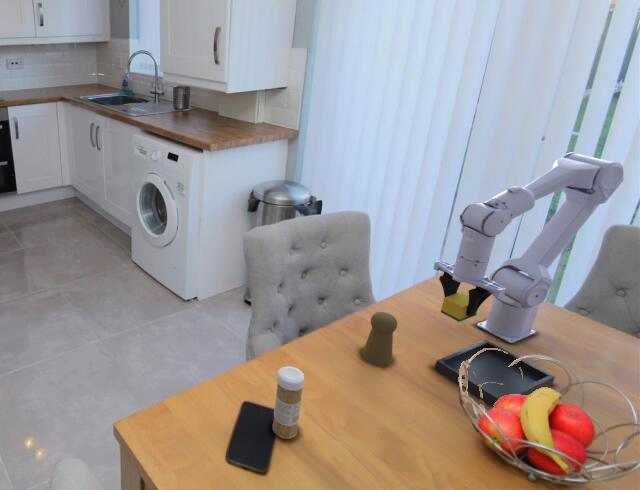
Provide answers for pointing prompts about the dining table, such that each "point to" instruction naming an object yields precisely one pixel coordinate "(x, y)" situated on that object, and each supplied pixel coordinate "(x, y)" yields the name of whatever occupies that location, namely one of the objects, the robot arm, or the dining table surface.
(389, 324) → the olive pawn
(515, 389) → the tray
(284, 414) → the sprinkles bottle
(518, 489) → the dining table surface
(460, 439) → the dining table surface
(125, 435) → the dining table surface
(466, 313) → the robot arm
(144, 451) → the dining table surface
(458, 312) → the sponge
